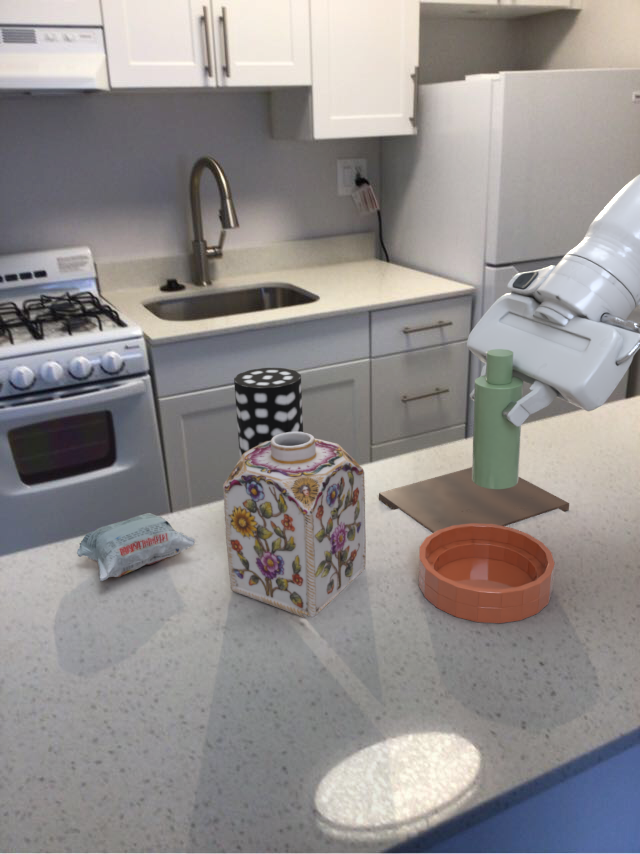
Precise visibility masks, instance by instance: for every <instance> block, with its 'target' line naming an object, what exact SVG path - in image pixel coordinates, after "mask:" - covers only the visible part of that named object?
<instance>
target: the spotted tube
mask: <svg viewBox="0 0 640 854" xmlns="http://www.w3.org/2000/svg"><path fill="white" fill-rule="evenodd" d="M233 383H234V397H235V410H236V412H235V413H236V425H237V438H238V450H239V452H238V453H239V459H240V458H241V456H242V455H243V453H245V452H246V451H248V450H250V449H252V448H254V447H256V446H258V445H260V444H262V443H264V442H266V441H271V439H272V438H273V437H274V436H276V435H278V434H282V433H287V432H304V419H303V417H304V416H303V415H304V414H303V397H302V395H303V394H302V393H303V391H302V389H303V388H302V375H301V373H300V372H298V371H297V370H294V369H290V368H284V367H261V368H254V369H249V370H245V371H242V372H240V373H238V374H236V375H235V376H234V378H233Z"/></svg>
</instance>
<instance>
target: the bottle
mask: <svg viewBox="0 0 640 854" xmlns="http://www.w3.org/2000/svg"><path fill="white" fill-rule="evenodd" d="M513 354H514V353H513V352H512V351H510V350H506V349H493V350H489V351H488V352H487V360H486V375H484V376H481V377H480V376H478V377H477V378H475V379H474V388H475V389H474V388H473V390H474V401H473V424H472V426H473V431H472V459H471V461H472V462H471V465H472V466H471V467H472V480H473V482H474V483H475V484H476V485H478V486H481V487H484V488H488V489H507V488H511V487H513V486H515V485H516V484H517V483H518V477H520V475H519V473H520V455H521V435H522V425H521V426H519V427H517V426H515V425H513V424H512V423H510V422H508V421H507V420H506V419H505V418H504V417H503V416H502V411H503V410H504V409H505V408H507V405H508V404H509V403H510V402H511V401H514V402H516V403H517V401H519V400H520V399H521V398H523V397H524V381H523V380H522V379H520V378H518V377H515V376H512V375H513Z"/></svg>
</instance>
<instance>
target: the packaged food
mask: <svg viewBox="0 0 640 854" xmlns="http://www.w3.org/2000/svg"><path fill="white" fill-rule="evenodd" d="M194 545H195V538H194V537H190V536H188V535H186V534H184V533H183V532H179V531H177V530H176V529H174V527H173V526H172V525H171V524H170V522H169V521H167V519H166V518H164V517H162V516H159V515H156V514H154V513H151V512H146V513H144V514H139V515H136V516H133V517H129V518H128V519H127V518H126V519H125V520H121V521H117V522H114V523H110V524H108V525H103V526H101V527H99V528H96V529H94V530H92V531H89V532H88V533H86V534H85V535H84V537H83V538H82V539H81V541H80V543H79V548H77V551H76V554H77V557H79V558H81V557H87V558H88V559H90V560H93V561H95V562H97V566H98V573H99V581H100V582H103V581H107V580H108V579H109V578H112V577H113V578H120V577H122V576H124V575H126V574H129V573H132V572H134V571H137V570H138V569H140V568H142V567H144V566H148V565H149V566H150V565H154V564H156V563H159V562H161V561H162V560H164V559H168V558H170V557H173V556H175V555H178V554H180V553H182V552H183V551H184V550H188V548H189V549H190V548H191V547H193V546H194Z"/></svg>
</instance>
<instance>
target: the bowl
mask: <svg viewBox="0 0 640 854" xmlns="http://www.w3.org/2000/svg"><path fill="white" fill-rule="evenodd" d="M555 566H556V563H555V559H554V556H553V553H552V551H551V550H550V548H548V547H547V545H546V544H544V542H543V541H541V540H539V539H537V538H536V537H534V536H533V535H531V534H529V533H527V532H524V531H521V530H519V529H516V528H513V527H510V526H500V525H495V524H478V523H470V524H461V525H453V526H450V527H446V528H443V529H440V530H437V531H436V532H434V533H431V534H429V535H427V536H426V537H425V538H424V540H423V542H422V543H421V544H420V546H419V552H418V587H419V590H420V591H421V593H422V595H423V597H424V599H426V600H427V601H428V602H430V603H431V604H432V605H433V606H435V608H437V609H439V610H441V611H443V612H444V613H447V614H448V615H451V616H453V617H456V618H458V619H463V620H466V621H471V622H475V623H483V624H484V623H485V624H505V623H512V622H518V621H519V622H520V621H522V620H525V619H527V618H530V617H533V616H535V615H537V614H539V613H540V612H541V611H542V610H543V609H544V608H546V607H547V606H548V604H549V603H550V600H551V597H552V595H553V588H554V578H555Z"/></svg>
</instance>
